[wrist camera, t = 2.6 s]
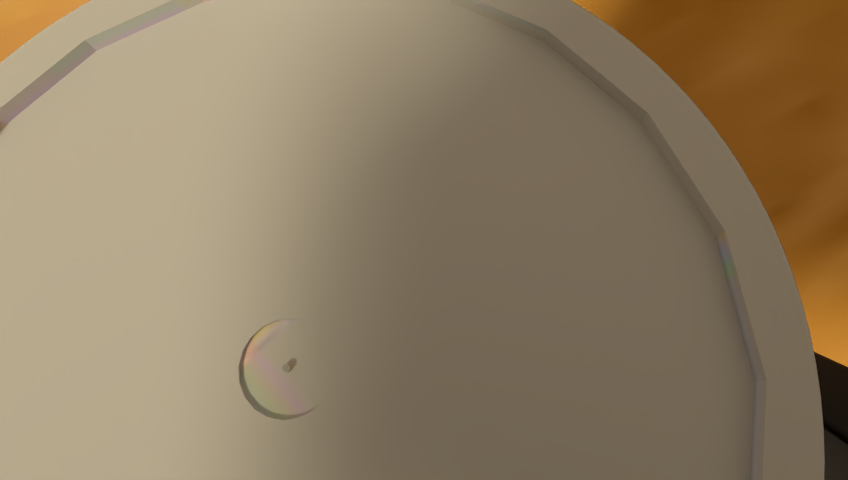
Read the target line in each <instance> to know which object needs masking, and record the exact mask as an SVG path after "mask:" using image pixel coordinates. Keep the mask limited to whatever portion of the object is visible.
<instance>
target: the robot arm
mask: <svg viewBox="0 0 848 480" xmlns="http://www.w3.org/2000/svg"><path fill="white" fill-rule="evenodd" d="M814 356H815V361H816V367H817V373H818V380H819V387H820V394H821V405H822V416H823V427H824V457H825V466H824V480H848V367H846V366H844V365H842V364H840V363H837V362H835V361H833V360H831V359H829V358H826V357H824V356H822V355H820V354H818V353H815V352H814Z"/></svg>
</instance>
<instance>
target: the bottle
mask: <svg viewBox="0 0 848 480" xmlns="http://www.w3.org/2000/svg"><path fill="white" fill-rule="evenodd" d="M824 466H825V457H824V427H823V416H822V405H821V394H820V387H819V380H818V373H817V367H816V361H815V356H814V351H813V346H812V341H811V336H810V331H809V328H808V324H807V320H806V316H805V312H804V308H803V305H802V301H801V298H800V295H799V292H798V289H797V285H796V282H795V279H794V276H793V273H792V270H791V268H790V265H789V263H788V260H787V257H786V255H785V252H784V250H783V247H782V244H781V242H780V240H779V238H778V235H777V233H776V231H775V229H774V226H773V224H772V222H771V220H770V218H769V216H768V214H767V212H766V210H765V208H764V206H763V204H762V202H761V200H760V198H759V196H758V194H757V192H756V191H755V189H754V187H753V185H752V184H751V182H750V180H749V179H748V177H747V175H746V174H745V172H744V170H743V168H742V167H741V165H740V164H739V162H738V161H737V159H736V158H735V156H734V155H733V153H732V152H731V150H730V149H729V147H728V146H727V144H726V143H725V141H724V140H723V139H722V137H721V136H720V135H719V133H718V132H717V131H716V129H715V128H714V127H713V125H712V124H711V123H710V121H709V120H708V119H707V118H706V116H705V115H704V114H703V113H702V112H701V110H700V109H699V108H698V107H697V106H696V104H695V103H694V102H693V101H692V100H691V99H690V98H689V96H688V95H687V94H686V93H685V92H684V91H683V90H682V89H681V88H680V87H679V86H678V85H677V83H676V82H675V81H674V80H673V79H672V78H671V77H670V76H668V75H667V74H666V73H665V72H664V71H663V70H662V69H661V68H660V67H659V66H658V65H657V64H656V63H655V62H654V61H653V60H652V59H650V58H649V57H648V56H647V55H646V54H645V53H644V52H642V51H641V50H640V49H639V48H638V47H637V46H636V45H634V44H633V43H632V42H630V41H629V40H628V39H627V38H625V37H624V36H623V35H621V34H620V33H619V32H618V31H616V30H615V29H614V28H612V27H611V26H609V25H608V24H606V23H605V22H604V21H602V20H601V19H599V18H598V17H596V16H595V15H593V14H592V13H590V12H589V11H587V10H585V9H584V8H582V7H581V6H579V5H577V4H576V3H574V2H572V1H571V0H91V1H89V2H88V3H86V4H84V5H82V6H80V7H79V8H77V9H75V10H74V11H72V12H71V13H69V14H67V15H66V16H64V17H62V18H61V19H59V20H58V21H56V22H55V23H53V24H52V25H50V26H49V27H47V28H46V29H44V30H43V31H41V32H40V33H38V34H37V35H36V36H34V37H33V38H32V39H30V40H29V41H27V42H26V43H25V44H23V45H22V46H21V47H19V48H18V49H17V50H16V51H14V52H13V53H12V54H11V55H9V56H8V57H7V58H6V59H4V60H3V61H2V62H1V63H0V480H824Z"/></svg>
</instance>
